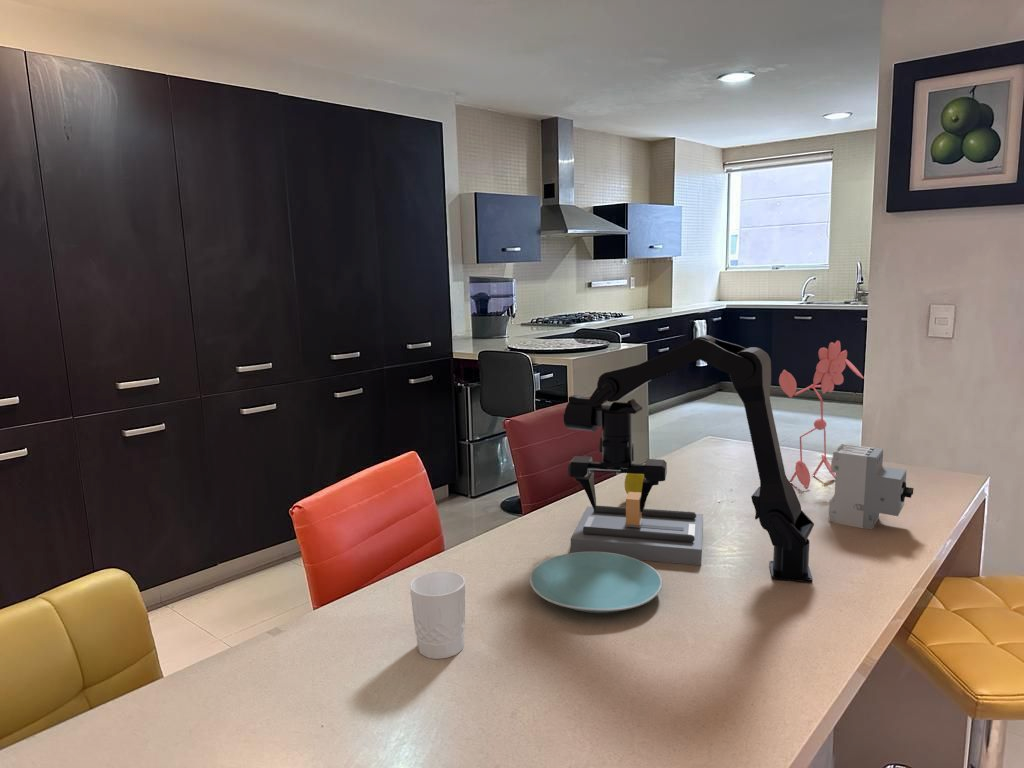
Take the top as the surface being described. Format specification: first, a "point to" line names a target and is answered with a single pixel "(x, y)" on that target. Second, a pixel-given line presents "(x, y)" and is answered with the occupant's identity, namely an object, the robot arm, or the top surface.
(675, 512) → the grey slider track
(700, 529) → the panel
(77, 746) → the top surface
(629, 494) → the breaker handle
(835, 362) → the figurine
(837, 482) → the circuit breaker
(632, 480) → the lemon
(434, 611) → the white cup
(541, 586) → the plate
